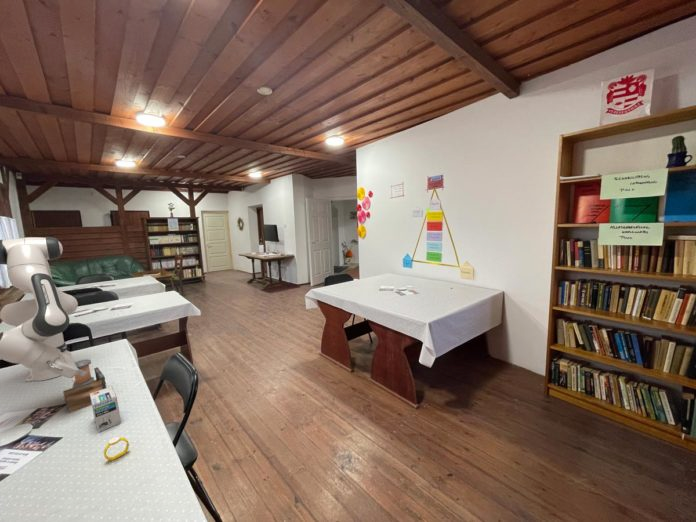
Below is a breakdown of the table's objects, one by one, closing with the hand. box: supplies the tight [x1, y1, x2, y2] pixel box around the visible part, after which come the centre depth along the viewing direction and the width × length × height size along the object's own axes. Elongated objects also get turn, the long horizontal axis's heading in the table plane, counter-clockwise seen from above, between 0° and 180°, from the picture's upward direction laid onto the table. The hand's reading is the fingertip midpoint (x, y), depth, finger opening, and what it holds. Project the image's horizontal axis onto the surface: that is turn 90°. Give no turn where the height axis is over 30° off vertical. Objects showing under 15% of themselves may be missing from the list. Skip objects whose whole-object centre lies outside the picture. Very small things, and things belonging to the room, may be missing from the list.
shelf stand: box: [62, 366, 107, 413], centre depth 120 cm, size 14×12×10 cm
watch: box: [103, 436, 130, 461], centre depth 89 cm, size 6×3×6 cm, turn 138°
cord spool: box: [72, 358, 95, 388], centre depth 119 cm, size 6×6×9 cm
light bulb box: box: [90, 385, 122, 433], centre depth 105 cm, size 11×7×11 cm, turn 47°
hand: (84, 371), depth 120 cm, fingers closed on cord spool, 5 cm apart
